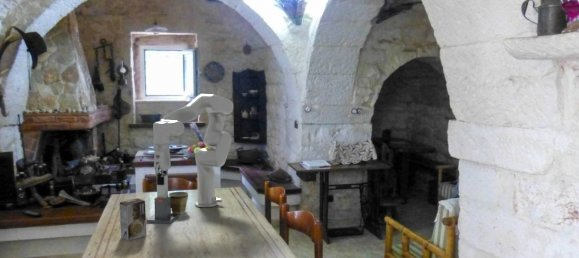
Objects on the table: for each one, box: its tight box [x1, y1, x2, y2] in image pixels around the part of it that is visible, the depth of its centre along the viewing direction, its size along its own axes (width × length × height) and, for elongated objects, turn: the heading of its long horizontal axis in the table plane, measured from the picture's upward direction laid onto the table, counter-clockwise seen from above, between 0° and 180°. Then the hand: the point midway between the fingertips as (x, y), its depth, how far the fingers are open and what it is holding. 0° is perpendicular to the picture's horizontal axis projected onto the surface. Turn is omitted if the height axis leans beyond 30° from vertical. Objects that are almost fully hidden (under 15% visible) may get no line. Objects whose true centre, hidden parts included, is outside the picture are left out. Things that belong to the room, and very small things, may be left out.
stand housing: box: [146, 195, 180, 225], centre depth 226 cm, size 12×12×12 cm
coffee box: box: [119, 198, 147, 242], centre depth 201 cm, size 9×6×16 cm
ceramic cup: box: [168, 191, 189, 215], centre depth 240 cm, size 13×10×10 cm
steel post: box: [156, 173, 169, 198], centre depth 225 cm, size 4×4×16 cm
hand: (162, 183), depth 225 cm, fingers closed on steel post, 4 cm apart
